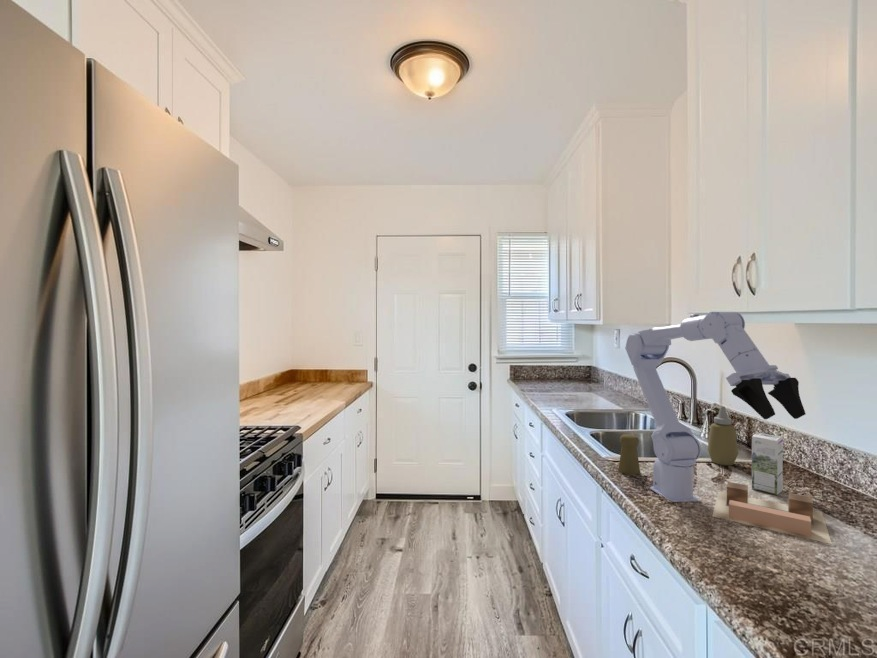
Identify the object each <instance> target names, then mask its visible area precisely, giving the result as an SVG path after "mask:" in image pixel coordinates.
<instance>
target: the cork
mask: <svg viewBox="0 0 877 658" xmlns="http://www.w3.org/2000/svg"><path fill="white" fill-rule="evenodd" d="M619 442H620V445H621V448H620V449H621V450H620V456H619V462H618V468H617V469H618V472H619V473H621V474H625V475H628V476H629V475H630V476H636V475H637V476H638V475H640V474H641V468H640V462H639V456H638V454H639V453H638V446H639V438H638V437H637V436H636V435H634V434H629V433H627V434H626V433H624V434H622V435H620V437H619Z"/></svg>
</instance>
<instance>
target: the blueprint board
mask: <svg viewBox="0 0 877 658" xmlns="http://www.w3.org/2000/svg"><path fill="white" fill-rule="evenodd" d="M748 491H749V485H747V484H743V483H737V482H733V481H732V482H731V481H727V485H726V492H724V491H718V493H717V497H716V500H715V504H714V508H713V512H712V517H713V518H716V519H717V518H718V519H722V520H725V521H726V520H727V521H730V522H736V523H738V524H739V523H740V524H743V525H748V526H752V527H757V528H760V529H761V528H762V529H764V530H770V531H773V532H777V533H782V534H786V535H789V536H793V537H800V538H803V539H808V540H812V541H815V542H816V541H817V542H821V543H825V544H829V545H832V544H833V543H832V540H831V537H830V534H829V530H828V527H827V524H826V521H825V517H824V514H823V511H818V510H814V501H813V499H812V497H810V496H807V495H801V494H797V493H792V492H791V493H790V492H789V493H788V495H787V496H788V502H787V503H788V504H785V503H780V502H773V501H770V500H766V499H759V498H754V497H749V495H748V494H749V492H748ZM730 500H733V501H738V502H742V503H747V504H752V505H757V506H762V507H766V508H771V509H776V510H781V511H786V512H790V513H795V514H800V515H805V516H810V519H811V536H807V535H803V534H799V533H794V532H790V531H786V530H781V529H777V528H773V527H768V526H764V525H759V524H755V523H751V522H746V521H742V520H738V519H733V518H729V501H730Z"/></svg>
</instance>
